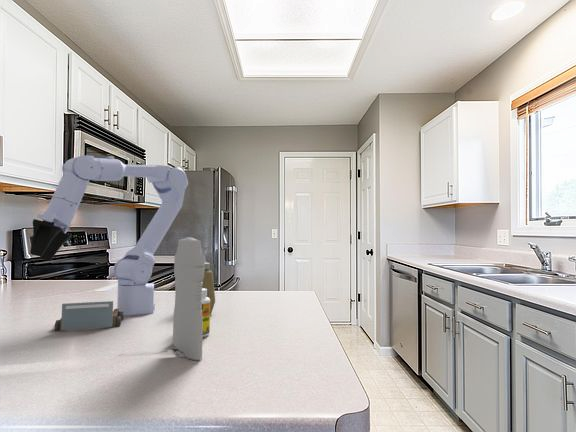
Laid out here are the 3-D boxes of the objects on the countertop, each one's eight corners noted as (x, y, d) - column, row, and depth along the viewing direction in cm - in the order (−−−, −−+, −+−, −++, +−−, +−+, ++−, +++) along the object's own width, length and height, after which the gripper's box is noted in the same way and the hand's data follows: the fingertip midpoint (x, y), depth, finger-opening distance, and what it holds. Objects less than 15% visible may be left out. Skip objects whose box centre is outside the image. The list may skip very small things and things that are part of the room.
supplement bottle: (188, 340, 77) (189, 292, 77) (180, 334, 81) (181, 288, 82) (213, 336, 80) (214, 289, 80) (204, 331, 84) (205, 286, 85)
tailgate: (112, 325, 82) (113, 301, 83) (111, 327, 81) (112, 302, 82) (61, 329, 79) (62, 303, 79) (60, 330, 78) (61, 304, 78)
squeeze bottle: (183, 313, 103) (184, 249, 104) (211, 310, 107) (212, 249, 108) (188, 319, 96) (189, 251, 97) (218, 316, 99) (219, 250, 100)
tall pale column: (211, 358, 66) (213, 237, 67) (190, 364, 63) (193, 237, 64) (183, 345, 73) (185, 236, 75) (164, 349, 71) (166, 236, 72)
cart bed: (123, 323, 91) (123, 308, 91) (119, 331, 83) (120, 315, 83) (63, 327, 87) (64, 311, 87) (54, 336, 79) (54, 319, 79)
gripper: (54, 205, 91) (30, 257, 87) (38, 187, 78) (9, 247, 74) (84, 213, 93) (62, 264, 89) (73, 198, 80) (46, 257, 75)
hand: (40, 257), depth 81 cm, fingers open, 7 cm apart
